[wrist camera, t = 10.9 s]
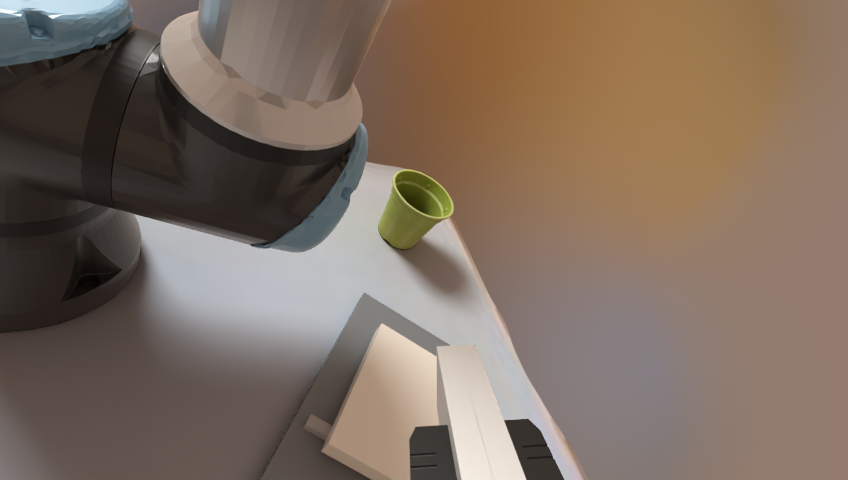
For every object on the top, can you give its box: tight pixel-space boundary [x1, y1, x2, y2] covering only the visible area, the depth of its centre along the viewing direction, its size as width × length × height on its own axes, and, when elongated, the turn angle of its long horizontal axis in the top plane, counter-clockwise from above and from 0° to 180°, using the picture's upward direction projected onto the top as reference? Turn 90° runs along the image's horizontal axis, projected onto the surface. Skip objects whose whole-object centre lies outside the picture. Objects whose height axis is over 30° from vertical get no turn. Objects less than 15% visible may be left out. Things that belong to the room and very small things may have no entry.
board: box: [259, 293, 450, 480], centre depth 38 cm, size 24×16×2 cm, turn 164°
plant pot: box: [378, 170, 454, 249], centre depth 56 cm, size 9×9×9 cm
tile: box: [321, 324, 439, 480], centre depth 38 cm, size 2×10×14 cm
